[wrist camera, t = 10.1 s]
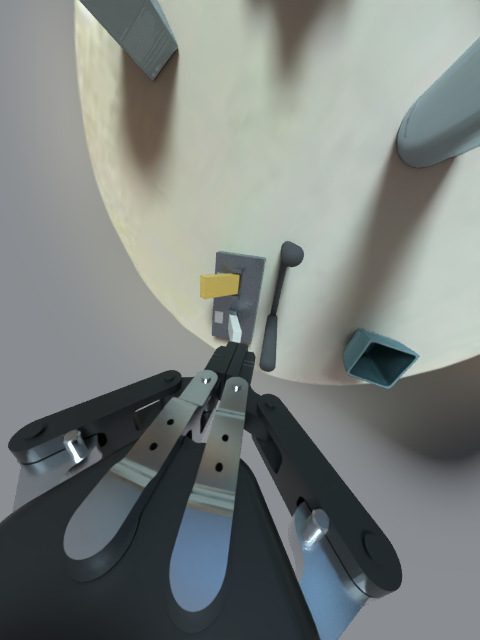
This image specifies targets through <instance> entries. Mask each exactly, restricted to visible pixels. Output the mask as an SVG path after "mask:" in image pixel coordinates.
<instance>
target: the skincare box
mask: <svg viewBox="0 0 480 640" xmlns="http://www.w3.org/2000/svg"><path fill="white" fill-rule="evenodd" d="M79 1H80V2H81V3H82V4H83V5H84V6H85V7H86V8H87V9H88V11H89V12H90V13H91V14H92V15H93V16H94V17H95V18H96V19H97V21H98V22H99V23H100V24H101V25H102V26H103V27H104V28H105V29H106V30H107V32H108V33H109V34H110V35H111V36H112V37H113V38H114V39H115V40H116V42H117V43H118V44H119V45H120V46H121V47H122V48H123V49H124V50H125V52H126V53H127V54H128V55H129V56H130V57H131V58H132V59H133V60H134V62H135V63H136V64H137V65H138V66H139V67H140V68H141V69H142V70H143V72H144V73H145V74H146V75H147V76H148V77H149V78H150V79H151V81H153V80H154V78H155V77H156V76H157V75H158V73H159V72H160V70H161V69H162V67H163V66H164V65H165V63H166V62H167V61H168V59H169V58H170V57H171V55H172V54H173V53H174V52H175V51H176V49H177V48H178V45H177V43H176V40H175V38H174V36H173V33H172V31H171V29H170V27H169V24H168V22H167V20H166V18H165V16H164V14H163V11H162V9H161V7H160V5H159V3H158V1H157V0H79Z"/></svg>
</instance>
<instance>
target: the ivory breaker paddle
mask: <svg viewBox="0 0 480 640" xmlns="http://www.w3.org/2000/svg"><path fill="white" fill-rule="evenodd" d="M228 332H229V338H230V341H233V342H237V343H240V341H241V334H242V331H241V328H240V324H239V321H238V318H237V315H235V314H229V323H228Z"/></svg>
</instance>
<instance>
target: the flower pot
mask: <svg viewBox="0 0 480 640" xmlns="http://www.w3.org/2000/svg"><path fill="white" fill-rule="evenodd" d="M370 343H371V344H370ZM419 356H420V355H418V354H417V353H415V352H414V351H412V350H411V349H409V348H408V347H406V346H405V345H403V344H402V343H400V342H398V341H396V340H394V339H391V338H388V337H385V336H382V335H379V334H375V333H372V332H369V331H367V330H364V329H358V330H357V331H356V332H355V334H354V335H353V337H352V338H351V340H350V341H349V343H348V344H347V346H346V348H345V350H344V352H343V362H344V366H345V370H346V374H347V375H349V376H352V377H355V378H358V379H361V380H364V381H367V382H369V383H373V384H375V385H378V386H381V387H384V388H388V389H389V388H391V387H392V386H393V385H394V384H395V383H396V382H397V380H398V379H399V378H400V377H401V376H402V375H403V374H404V373H405V372H406V371H407V370H408V369H409V368H410V367H411V366H412V365H413V364H414V363H415V361H416V360H417V359H418V358H419Z"/></svg>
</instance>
